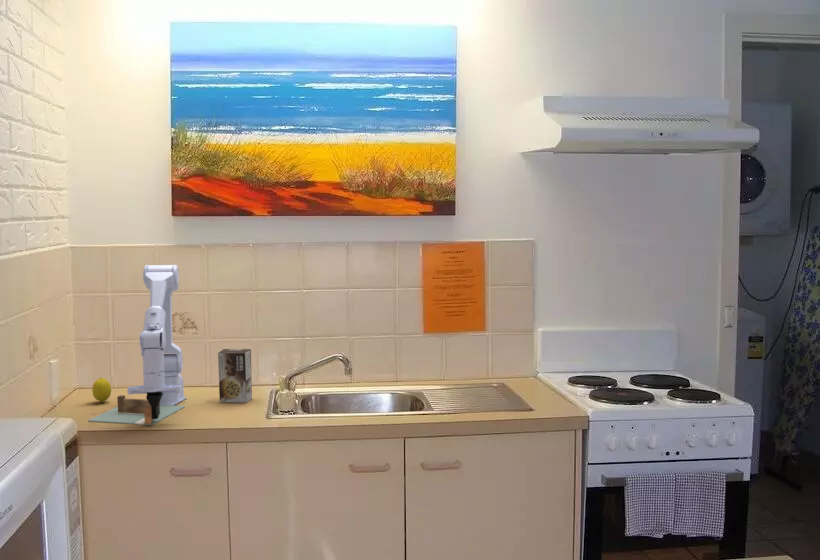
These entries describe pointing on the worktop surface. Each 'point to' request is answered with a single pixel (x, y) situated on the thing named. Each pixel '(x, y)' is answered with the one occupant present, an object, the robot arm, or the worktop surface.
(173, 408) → the card
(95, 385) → the lemon
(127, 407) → the fixed fence section
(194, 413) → the worktop surface
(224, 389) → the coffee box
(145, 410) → the hinged fence panel
